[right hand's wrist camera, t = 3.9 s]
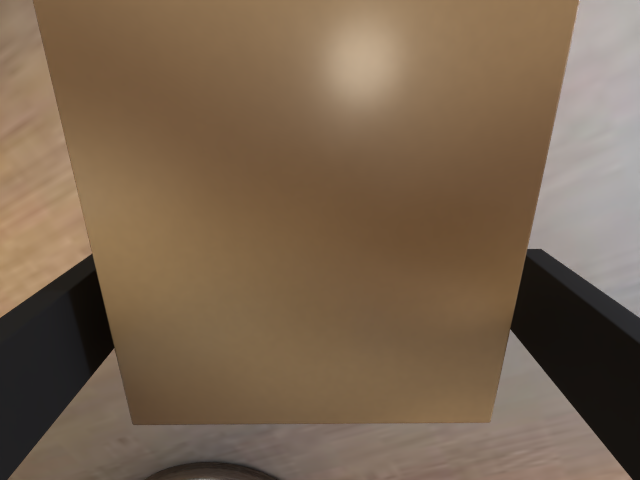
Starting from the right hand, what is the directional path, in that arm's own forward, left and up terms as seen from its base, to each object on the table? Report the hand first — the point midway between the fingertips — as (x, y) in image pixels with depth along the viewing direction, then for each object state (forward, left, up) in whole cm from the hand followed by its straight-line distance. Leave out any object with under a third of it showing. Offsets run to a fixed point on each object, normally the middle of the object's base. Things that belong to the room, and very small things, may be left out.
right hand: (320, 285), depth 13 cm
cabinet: (+2, +5, -9) cm, 10 cm away
